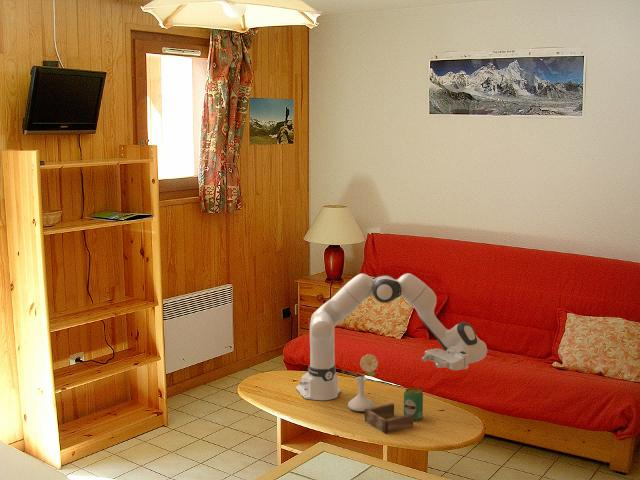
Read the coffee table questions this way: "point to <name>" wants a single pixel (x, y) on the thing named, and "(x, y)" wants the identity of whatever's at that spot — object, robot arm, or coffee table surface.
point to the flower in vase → (361, 400)
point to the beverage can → (413, 403)
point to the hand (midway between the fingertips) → (429, 362)
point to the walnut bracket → (386, 426)
